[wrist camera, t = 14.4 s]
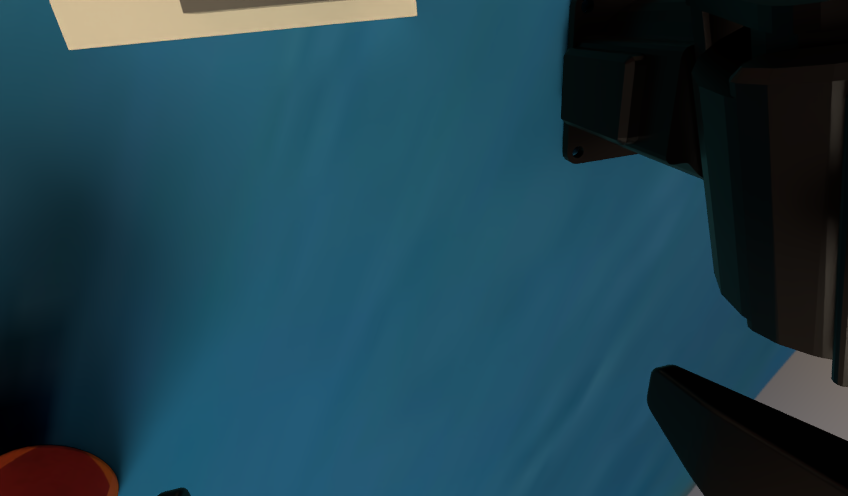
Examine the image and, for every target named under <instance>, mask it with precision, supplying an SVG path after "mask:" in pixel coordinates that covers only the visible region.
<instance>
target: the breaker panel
mask: <svg viewBox="0 0 848 496" xmlns="http://www.w3.org/2000/svg"><path fill="white" fill-rule="evenodd" d="M49 1H50V4H51V6H52V9H53V11H54V14H55V16H56V19H57V21H58V24H59V26H60V29H61V31H62V34H63V36H64V39H65V42H66V44H67V47H68V49H69V50H75V49H85V48H95V47H105V46H115V45H126V44H136V43H146V42H156V41H166V40H176V39H186V38H197V37H207V36H217V35H227V34H237V33H247V32H257V31H268V30H278V29H288V28H298V27H308V26H318V25H328V24H339V23H349V22H359V21H369V20H379V19H389V18H399V17H410V16H417V8H416V0H49Z"/></svg>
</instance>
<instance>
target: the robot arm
mask: <svg viewBox="0 0 848 496" xmlns="http://www.w3.org/2000/svg"><path fill="white" fill-rule="evenodd" d="M583 1H584V0H571V4H570V12H569V32H568V50H567V52H566V53H565V55H564V64H563V85H562V106H561V119H562V120H563V121H564V132H563V156H564V158H565V159H566V160H568V161H570V162H571V163H574V164H578V163H585V162H591V161H597V160H603V159H609V158H615V157H621V156H627V155H634V154H641V155H643V156H646V157H648V158H651V159H653V160H656V161H658V162H661V163H663V164H666V165H668V166H671V167H673V168H676V169H678V170H680V171H683V172H685V173H688V174H690V175H693V176H695V177H698V178H700V179H703V180H704V188H705V197H706V205H707V214H708V223H709V231H710V240H711V249H712V258H713V266H714V274H715V277H716V279H717V282H718V285H719V288H720V291H721V294H722V295H723V296H724V297H725V298H726V299H727V300H728V301H729V302H730V303H731V305H732V306H733V307H734V308H735V309H736V310H737V311H738V312H739V313H740V314H741V315H742V316H744V317H745V318H747V324H748V327H749V328H750V329H751V330H752V331H754V332H756V333H758V334H760V335H762V336H764V337H766V338H767V339H769V340H771V341H773V342H775V343H777V344H780V345H783V346H786V347H789V348H792V349H795V350H798V351H801V352H804V353H807V354H810V355H813V356H817V357H821V358H827V359H832V360H833V361H832V378H831V379H832V380H833V382H834V383H836V384H837V385H840V386H843V387H848V0H587V1H588V8H587V10H586V11H585V12H583V11H582V8H581V5H582V2H583ZM575 147H578V148H579V150H578V152H577V154H576V155H573V150H574V149H575ZM647 403H648V406H649V409H650V411H651V412H652V414H653V416H654V417H655V419H656V421H657V422H658V424H659V426H660V427H661V429H662V431H663V432H664V434H665V436H666V437H667V439H668V440H669V442H670V444H671V445H672V447H673V449H674V450H675V452H676V454H677V455H678V457H679V459H680V460H681V462H682V464H683V465H684V467H685V468H686V470H687V471H688V473H689V475H690V476H691V478H692V479H693V481H694V482H695V483H696V485H697V486H698V487H699V489H700V490H701V492H702V493H703V495H704V496H848V441H846V440H844V439H842V438H840V437H837V436H835V435H833V434H830V433H828V432H826V431H824V430H822V429H819V428H817V427H815V426H812V425H810V424H808V423H806V422H803V421H801V420H799V419H797V418H794V417H792V416H789V415H787V414H785V413H783V412H781V411H778V410H776V409H774V408H772V407H769V406H767V405H765V404H762V403H760V402H758V401H756V400H753V399H751V398H749V397H747V396H744V395H742V394H740V393H737V392H735V391H733V390H731V389H728V388H726V387H724V386H722V385H719V384H717V383H715V382H713V381H710V380H708V379H706V378H703V377H701V376H699V375H697V374H694V373H692V372H690V371H688V370H685V369H683V368H681V367H678V366H676V365H666V366H662V367H658V368H655V369H654V370H653V371H652V372H651V377H650V382H649V388H648V394H647ZM158 496H191V495H190V493H189V492H188V490H187V489H186V488H177V489H173V490H169V491H165V492H162V493H160V494H159V495H158Z"/></svg>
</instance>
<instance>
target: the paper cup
mask: <svg viewBox="0 0 848 496" xmlns="http://www.w3.org/2000/svg"><path fill="white" fill-rule="evenodd" d="M118 489H119V485H118V480H117V477H116V475H115V473H114V471H113V470H112V469H111V468H110V466H109V465H108V464H106V463H105V462H104V461H103V460H101V459H100V458H98V457H96V456H95V455H93V454H91V453H88V452H86V451H83V450H80V449H76V448H72V447H66V446H59V445H37V446H29V447H24V448H19V449H16V450H13V451H10V452H7V453H5V454H3V455H1V456H0V496H118Z"/></svg>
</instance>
